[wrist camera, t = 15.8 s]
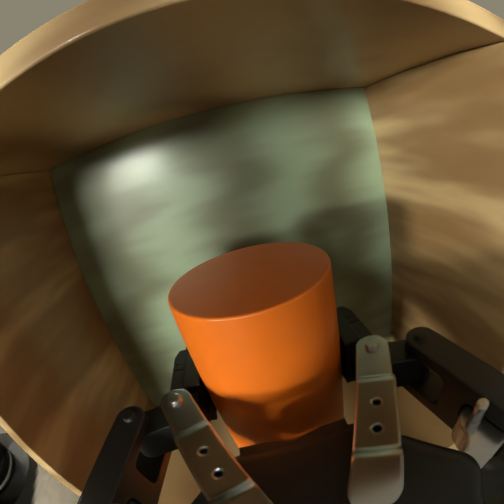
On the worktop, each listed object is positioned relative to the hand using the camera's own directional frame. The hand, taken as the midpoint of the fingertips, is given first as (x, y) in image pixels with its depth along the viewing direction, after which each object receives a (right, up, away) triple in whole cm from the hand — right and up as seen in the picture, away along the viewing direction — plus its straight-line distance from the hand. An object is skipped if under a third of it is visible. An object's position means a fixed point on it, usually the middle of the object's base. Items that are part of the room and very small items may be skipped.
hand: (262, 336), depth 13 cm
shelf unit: (+3, -10, +3) cm, 11 cm away
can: (+2, -7, 0) cm, 7 cm away
